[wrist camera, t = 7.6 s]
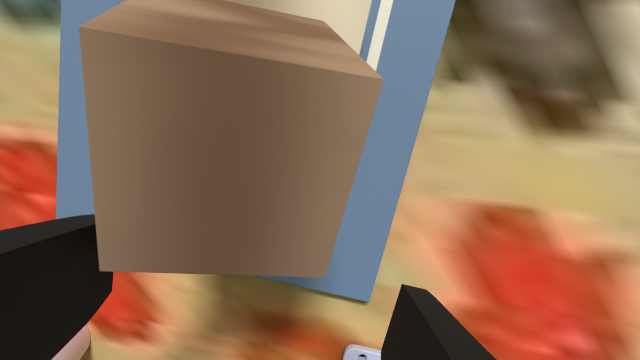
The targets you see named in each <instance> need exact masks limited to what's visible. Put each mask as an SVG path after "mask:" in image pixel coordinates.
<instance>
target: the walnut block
mask: <svg viewBox="0 0 640 360" xmlns="http://www.w3.org/2000/svg"><path fill="white" fill-rule="evenodd" d="M79 34H80V46H81V58H82V70H83V82H84V93H85V105H86V117H87V129H88V141H89V152H90V164H91V176H92V188H93V200H94V211H95V223H96V235H97V247H98V259H99V270H100V271H113V272H149V273H185V274H221V275H257V276H292V277H325V275H326V272H327V268H328V265H329V262H330V258H331V255H332V252H333V248H334V245H335V242H336V238H337V235H338V232H339V228H340V225H341V222H342V218H343V215H344V212H345V208H346V205H347V202H348V198H349V195H350V192H351V188H352V185H353V182H354V178H355V175H356V172H357V168H358V165H359V162H360V158H361V155H362V151H363V148H364V145H365V141H366V138H367V135H368V131H369V128H370V125H371V121H372V118H373V115H374V111H375V108H376V105H377V101H378V98H379V95H380V91H381V88H382V85H383V81H384V79H383V78H382V77H381V76H380V75H379V74H378V73H377V72H376V71H375V70H374V69H373V68H372V67H371V66H370V65H369V64H368V63H367V62H366V61H365V60H364V59H362V58H361V57H360V56H359V55H358V54H357V53H356V52H355V51H354V50H353V49H352V48H351V47H350V46H349V45H348V44H347V43H346V42H345V41H344V40H343V39H342V38H341V37H340V36H339V35H338V34H337V33H336V32H335V31H334V30H333V29H332V28H331V27H329V26H328V25H327V24H326V23H325V22H324V21H321V20H316V19H311V18H307V17H302V16H297V15H292V14H287V13H282V12H278V11H273V10H268V9H263V8H258V7H253V6H248V5H244V4H239V3H234V2H229V1H224V0H126V1H124V2H122V3H120V4H118V5H117V6H115V7H113V8H111V9H110V10H108V11H106V12H104V13H102V14H101V15H99V16H97V17H95V18H93V19H92V20H90V21H88V22H86V23H84V24H83V25H81V26H79Z"/></svg>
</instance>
